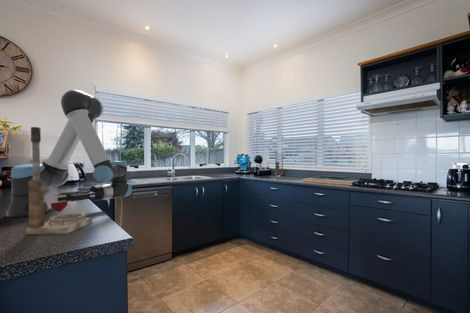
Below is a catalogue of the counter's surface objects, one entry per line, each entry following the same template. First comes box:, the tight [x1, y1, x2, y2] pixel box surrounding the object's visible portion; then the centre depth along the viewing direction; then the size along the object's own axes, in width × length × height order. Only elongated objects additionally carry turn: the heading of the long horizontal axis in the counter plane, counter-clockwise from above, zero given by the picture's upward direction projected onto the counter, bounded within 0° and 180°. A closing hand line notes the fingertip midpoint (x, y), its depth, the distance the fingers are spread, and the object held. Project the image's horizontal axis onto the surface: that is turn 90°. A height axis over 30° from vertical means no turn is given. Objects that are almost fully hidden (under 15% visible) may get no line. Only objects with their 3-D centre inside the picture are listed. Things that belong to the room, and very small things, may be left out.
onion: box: [50, 192, 68, 213], centre depth 104 cm, size 6×6×8 cm
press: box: [25, 126, 92, 235], centre depth 90 cm, size 14×14×37 cm
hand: (44, 199), depth 100 cm, fingers closed on onion, 5 cm apart
